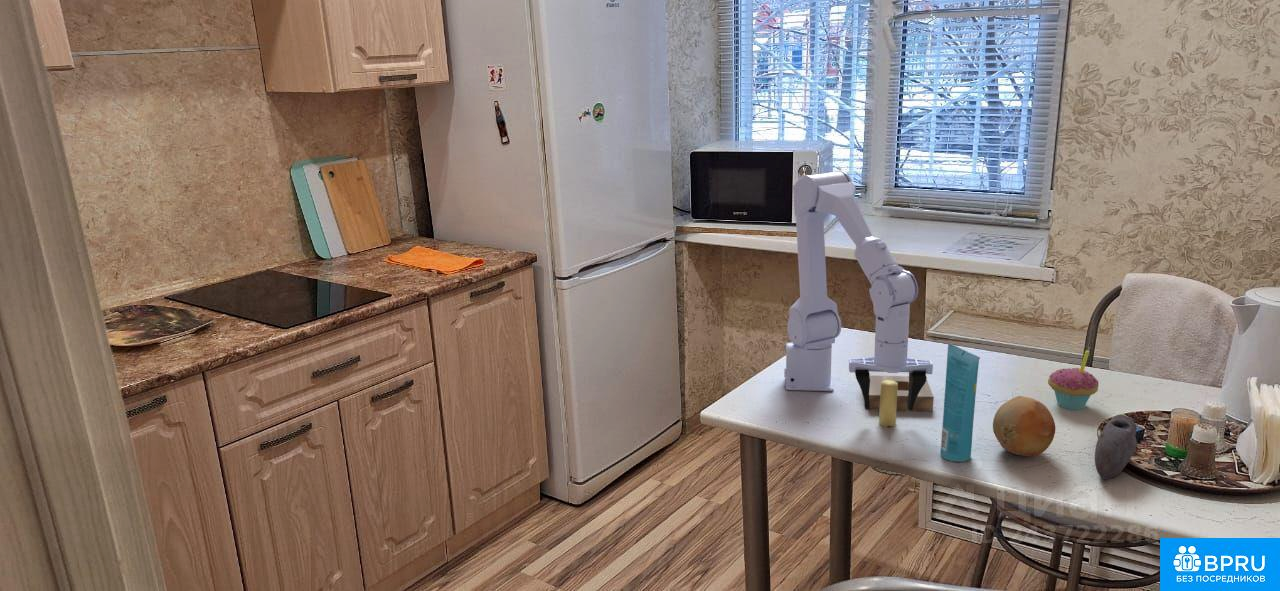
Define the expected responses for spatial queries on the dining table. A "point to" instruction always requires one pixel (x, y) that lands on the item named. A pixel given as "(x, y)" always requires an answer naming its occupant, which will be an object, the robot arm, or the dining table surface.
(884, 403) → the dowel
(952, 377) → the tube
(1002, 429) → the onion
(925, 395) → the socket
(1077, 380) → the cupcake
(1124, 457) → the perforated stone tool
